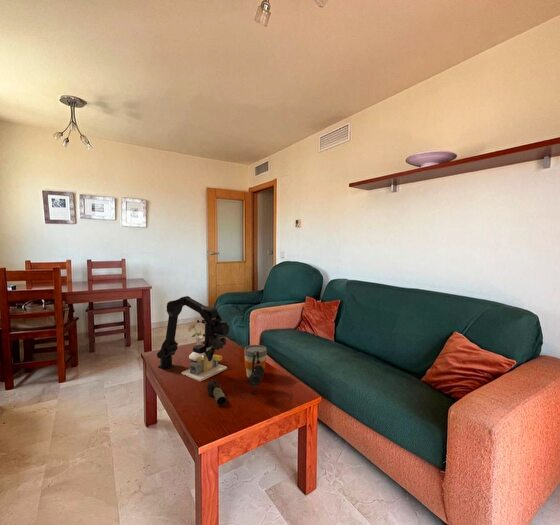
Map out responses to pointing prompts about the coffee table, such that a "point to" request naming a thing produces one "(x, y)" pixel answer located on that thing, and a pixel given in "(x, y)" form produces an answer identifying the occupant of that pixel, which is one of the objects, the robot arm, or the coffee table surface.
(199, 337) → the white rounded piece
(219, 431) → the coffee table surface
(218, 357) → the valve lever
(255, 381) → the headphones
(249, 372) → the reusable coffee cup
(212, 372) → the mounting board
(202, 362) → the blocks
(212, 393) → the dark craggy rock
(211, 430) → the coffee table surface
